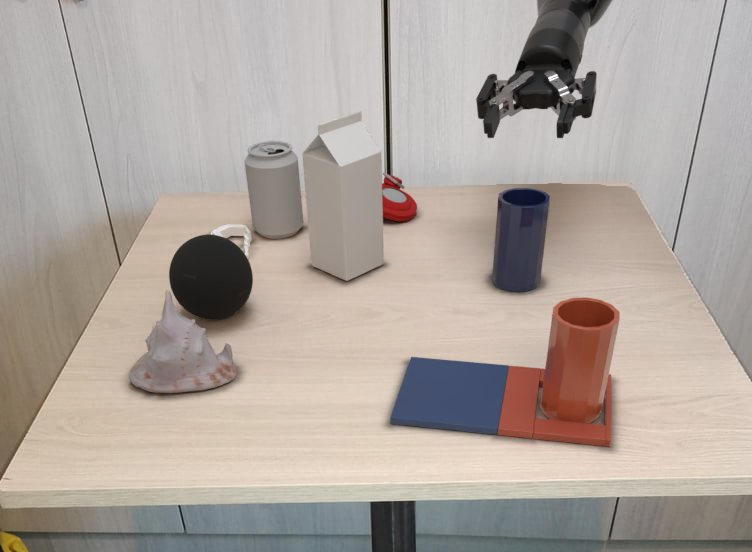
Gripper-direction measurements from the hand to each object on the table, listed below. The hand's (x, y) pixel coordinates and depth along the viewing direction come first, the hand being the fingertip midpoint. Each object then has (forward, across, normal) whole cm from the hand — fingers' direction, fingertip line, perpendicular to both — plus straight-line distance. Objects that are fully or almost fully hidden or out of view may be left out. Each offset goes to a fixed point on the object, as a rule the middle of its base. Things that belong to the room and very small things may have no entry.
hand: (524, 131), depth 98 cm
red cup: (+35, +12, +8) cm, 38 cm away
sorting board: (+36, +5, +8) cm, 37 cm away
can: (+3, -37, +14) cm, 40 cm away
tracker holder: (-8, -24, +19) cm, 31 cm away
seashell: (+40, -30, +4) cm, 50 cm away
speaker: (+28, -33, +7) cm, 44 cm away
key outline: (+10, -40, +12) cm, 43 cm away
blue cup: (+9, 0, +15) cm, 18 cm away
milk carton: (+11, -23, +13) cm, 28 cm away
